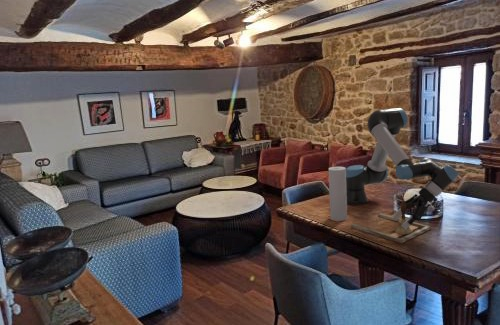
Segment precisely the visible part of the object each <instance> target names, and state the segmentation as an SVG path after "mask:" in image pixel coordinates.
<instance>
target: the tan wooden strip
mask: <svg viewBox="0 0 500 325" xmlns="http://www.w3.org/2000/svg"><path fill="white" fill-rule="evenodd" d="M409 227H410V229H411V230H412V231H413V232H414V231H416V230H417V229H419V227H418V226H414V225H410V226H409ZM390 235H391V236H394V237H397V238H401V237H402V236H404V235H405V234H398V233H396V232H395V231H394V232H393V233H391V234H390Z"/></svg>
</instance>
